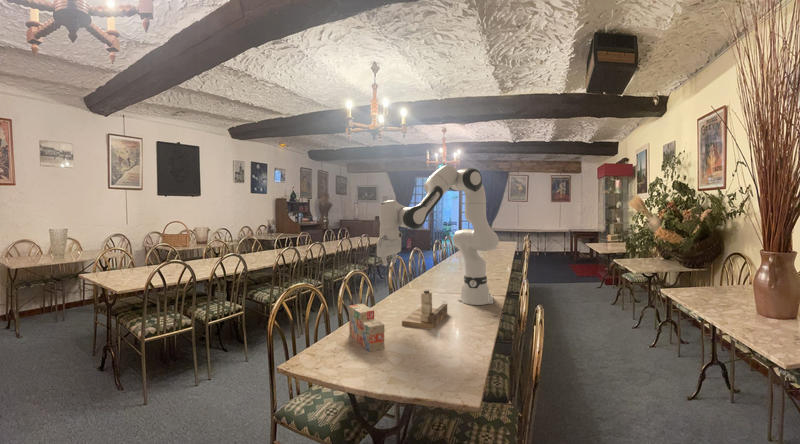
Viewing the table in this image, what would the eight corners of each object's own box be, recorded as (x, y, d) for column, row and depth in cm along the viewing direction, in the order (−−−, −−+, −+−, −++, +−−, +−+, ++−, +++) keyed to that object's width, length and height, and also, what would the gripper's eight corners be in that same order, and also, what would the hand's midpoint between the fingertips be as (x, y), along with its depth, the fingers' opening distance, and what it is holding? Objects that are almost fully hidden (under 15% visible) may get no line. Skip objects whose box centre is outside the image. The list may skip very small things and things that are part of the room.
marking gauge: (425, 316, 168) (425, 288, 168) (433, 317, 167) (433, 289, 166) (420, 321, 162) (419, 292, 162) (429, 322, 161) (428, 292, 160)
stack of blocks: (385, 349, 137) (384, 316, 136) (369, 352, 134) (368, 318, 134) (363, 331, 156) (362, 302, 155) (349, 334, 153) (348, 305, 152)
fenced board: (420, 311, 184) (419, 301, 184) (447, 314, 178) (447, 303, 178) (401, 325, 163) (401, 314, 163) (432, 329, 157) (432, 317, 157)
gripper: (385, 237, 163) (386, 268, 164) (403, 233, 182) (404, 261, 182) (372, 236, 165) (373, 267, 166) (391, 233, 184) (392, 260, 185)
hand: (389, 264), depth 174 cm, fingers open, 8 cm apart
